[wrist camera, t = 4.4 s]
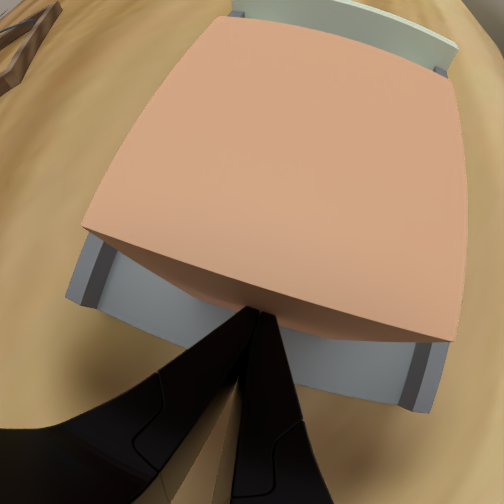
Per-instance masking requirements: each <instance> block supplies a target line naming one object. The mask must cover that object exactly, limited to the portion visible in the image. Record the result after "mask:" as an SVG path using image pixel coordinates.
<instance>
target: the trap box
mask: <svg viewBox="0 0 504 504" xmlns="http://www.w3.org/2000/svg"><path fill="white" fill-rule="evenodd" d="M227 17H239V18H249V19H258V20H265V21H272V22H278V23H284V24H290V25H295V26H300V27H305V28H310V29H314V30H318V31H322V32H326V33H330V34H334V35H338V36H341V37H345V38H348V39H352V40H355V41H358V42H361V43H364V44H367V45H370V46H373V47H376V48H379V49H382V50H384V51H387V52H390V53H392V54H395V55H397V56H400V57H402V58H405V59H407V60H409V61H412V62H414V63H416V64H418V65H421V66H423V67H425V68H427V69H429V70H431V71H433V72H435V73H437V74H439V75H441V76H443V77H445V78H447V79H448V76H447V72H446V71H447V69H448V67H449V66H450V64H451V62H452V60H453V59H454V57H455V55H456V53H457V51H458V50H459V49H458V47H457V44H456V43H454V42H453V41H451V40H449V39H447V38H445V37H443V36H441V35H439V34H437V33H435V32H433V31H431V30H429V29H427V28H424V27H422V26H420V25H418V24H415V23H413V22H411V21H408V20H406V19H404V18H401V17H399V16H396V15H393V14H391V13H388V12H385V11H382V10H380V9H377V8H374V7H371V6H367V5H364V4H361V3H358V2H354V1H351V0H232V12H231V13H230V14H229V15H228V16H227ZM65 297H66V298H67V299H69V300H71V301H73V302H75V303H77V304H78V305H80V306H85V307H90V308H95V309H98V310H100V311H102V312H104V313H106V314H108V315H110V316H112V317H114V318H116V319H118V320H121V321H123V322H125V323H127V324H129V325H131V326H134V327H136V328H138V329H140V330H143V331H145V332H147V333H150V334H152V335H154V336H157V337H159V338H161V339H164V340H166V341H169V342H171V343H174V344H176V345H179V346H181V347H184V348H187V349H189V348H190V347H191V346H193V345H194V344H195V343H197V342H198V341H199V340H201V339H202V338H204V337H205V336H206V335H208V334H209V333H210V332H212V331H213V330H214V329H216V328H217V327H218V326H220V325H221V324H222V323H224V322H225V321H226V320H228V319H229V318H230V317H232V316H233V315H234V314H236V313H237V312H235V311H232V310H229V309H226V308H223V307H220V306H217V305H214V304H211V303H209V302H206V301H203V300H200V299H197V298H194V297H193V296H191V295H189V294H187V293H186V292H184V291H182V290H181V289H179V288H177V287H176V286H174V285H172V284H171V283H169V282H167V281H166V280H164V279H162V278H161V277H159V276H157V275H156V274H154V273H152V272H151V271H149V270H148V269H146V268H144V267H143V266H141V265H140V264H138V263H136V262H135V261H133V260H132V259H130V258H129V257H127V256H125V255H124V254H122V253H121V252H119V251H118V250H116V249H115V248H113V247H112V246H110V245H109V244H107V243H106V242H104V241H103V240H101V239H100V238H98V237H97V236H95V235H94V234H92V233H91V232H89V234H88V236H87V239H86V241H85V244H84V246H83V249H82V251H81V254H80V256H79V259H78V261H77V264H76V267H75V269H74V272H73V275H72V278H71V281H70V284H69V286H68V289H67V292H66V295H65ZM279 329H280V333H281V336H282V340H283V344H284V348H285V351H286V355H287V359H288V363H289V366H290V370H291V374H292V378H293V381H294V384H298V385H302V386H306V387H310V388H314V389H318V390H322V391H327V392H331V393H335V394H340V395H345V396H349V397H354V398H359V399H365V400H370V401H376V402H381V403H387V404H394V405H399V406H401V407H403V408H405V409H407V410H410V411H412V412H419V413H430V410H431V407H432V404H433V401H434V398H435V395H436V392H437V389H438V385H439V382H440V378H441V375H442V371H443V367H444V363H445V359H446V355H447V351H448V347H449V342H428V343H415V342H371V341H350V340H333V339H324V338H321V337H317V336H314V335H310V334H307V333H303V332H300V331H296V330H293V329H289V328H286V327H283V326H279Z"/></svg>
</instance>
